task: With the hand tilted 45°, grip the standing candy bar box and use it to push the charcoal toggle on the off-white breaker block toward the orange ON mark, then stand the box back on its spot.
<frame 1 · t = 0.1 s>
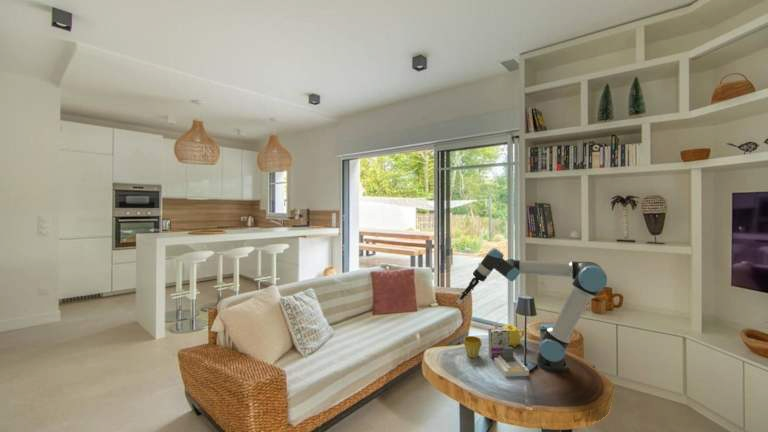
hand: (460, 299, 192), 36 cm above the table, tool tilted 35°, fingers open, 13 cm apart
candy bar box: (498, 356, 196), on the table
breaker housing: (511, 369, 181), on the table
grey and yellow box: (508, 343, 214), on the table
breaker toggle: (508, 353, 185), point 7 cm above the table, slide at 0.0 cm
plant pot: (472, 355, 199), on the table
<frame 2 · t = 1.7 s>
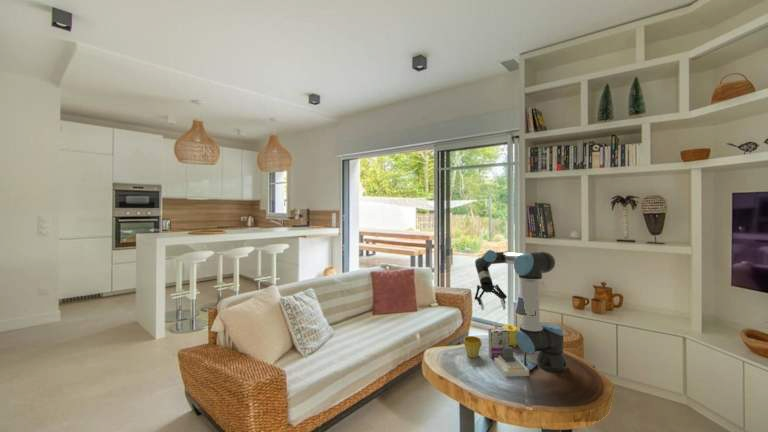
hand: (493, 309, 203), 26 cm above the table, tool tilted 45°, fingers open, 13 cm apart
nothing on the table moved.
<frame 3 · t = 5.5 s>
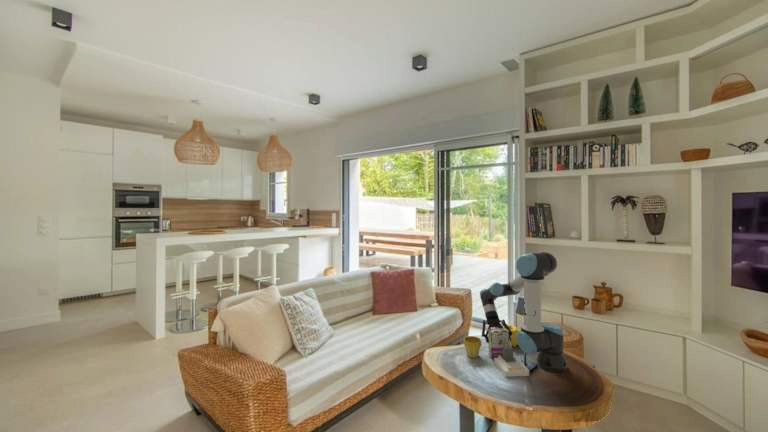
hand: (500, 347, 193), 7 cm above the table, tool tilted 45°, fingers closed on candy bar box, 11 cm apart
candy bar box: (498, 356, 196), on the table, touching gripper
everything else where it was.
when the fingers open (8 cm above the table, at t = 15.4 s): candy bar box drops 1 cm, on the table.
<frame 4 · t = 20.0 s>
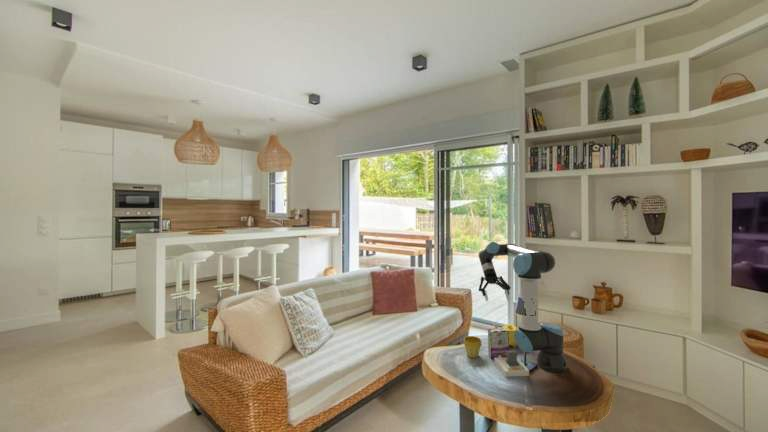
hand: (497, 300, 204), 32 cm above the table, tool tilted 45°, fingers open, 13 cm apart
candy bar box: (498, 356, 196), on the table
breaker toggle: (511, 357, 180), point 7 cm above the table, slide at 4.9 cm
everything else where it was.
at the end: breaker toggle slide at 4.9 cm; candy bar box tilted 0°; candy bar box inside the target area (0.3 cm from its centre), on the table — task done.
